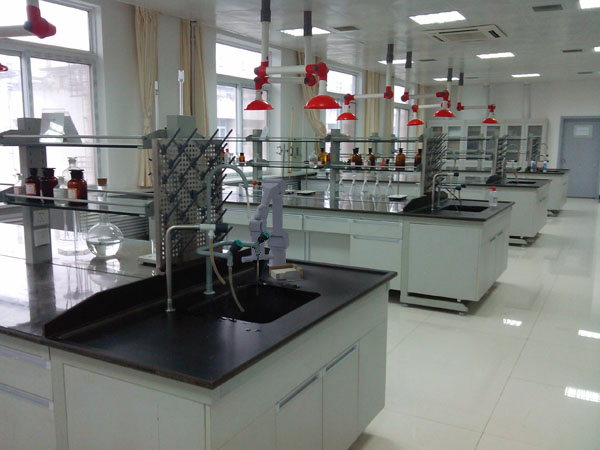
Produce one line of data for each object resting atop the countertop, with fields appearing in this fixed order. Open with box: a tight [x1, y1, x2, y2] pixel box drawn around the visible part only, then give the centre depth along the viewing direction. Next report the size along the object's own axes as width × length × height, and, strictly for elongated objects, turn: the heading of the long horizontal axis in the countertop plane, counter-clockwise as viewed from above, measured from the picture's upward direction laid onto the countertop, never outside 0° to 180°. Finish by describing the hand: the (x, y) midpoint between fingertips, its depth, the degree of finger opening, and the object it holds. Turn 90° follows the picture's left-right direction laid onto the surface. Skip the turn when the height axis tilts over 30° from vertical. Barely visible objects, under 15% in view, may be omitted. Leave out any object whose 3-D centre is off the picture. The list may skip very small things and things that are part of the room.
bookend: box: [284, 270, 304, 282], centre depth 230 cm, size 4×7×4 cm, turn 112°
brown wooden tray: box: [268, 263, 304, 279], centre depth 236 cm, size 11×12×4 cm
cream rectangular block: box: [270, 268, 296, 281], centre depth 236 cm, size 7×11×3 cm, turn 112°
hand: (258, 276), depth 231 cm, fingers closed
